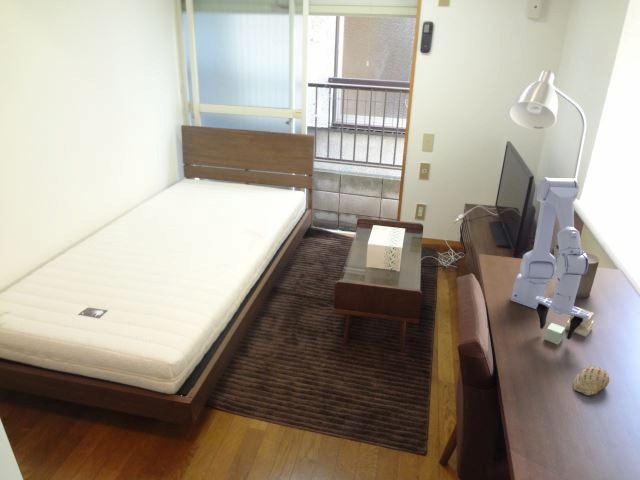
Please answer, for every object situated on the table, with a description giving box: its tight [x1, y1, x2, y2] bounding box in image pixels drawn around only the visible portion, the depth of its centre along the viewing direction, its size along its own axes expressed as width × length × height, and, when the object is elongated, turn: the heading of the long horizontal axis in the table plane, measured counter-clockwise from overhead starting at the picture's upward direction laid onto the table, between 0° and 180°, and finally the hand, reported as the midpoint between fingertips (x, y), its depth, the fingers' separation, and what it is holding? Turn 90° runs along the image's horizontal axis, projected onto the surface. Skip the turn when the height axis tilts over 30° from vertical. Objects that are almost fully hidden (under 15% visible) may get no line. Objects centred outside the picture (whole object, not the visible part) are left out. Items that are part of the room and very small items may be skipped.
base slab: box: [565, 318, 595, 338], centre depth 150 cm, size 6×6×3 cm
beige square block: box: [568, 306, 594, 328], centre depth 149 cm, size 5×5×3 cm
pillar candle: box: [575, 251, 600, 299], centre depth 169 cm, size 10×10×15 cm
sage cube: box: [544, 322, 566, 345], centre depth 145 cm, size 4×4×4 cm
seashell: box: [572, 366, 610, 396], centre depth 125 cm, size 8×6×10 cm
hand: (555, 332), depth 144 cm, fingers open, 7 cm apart
